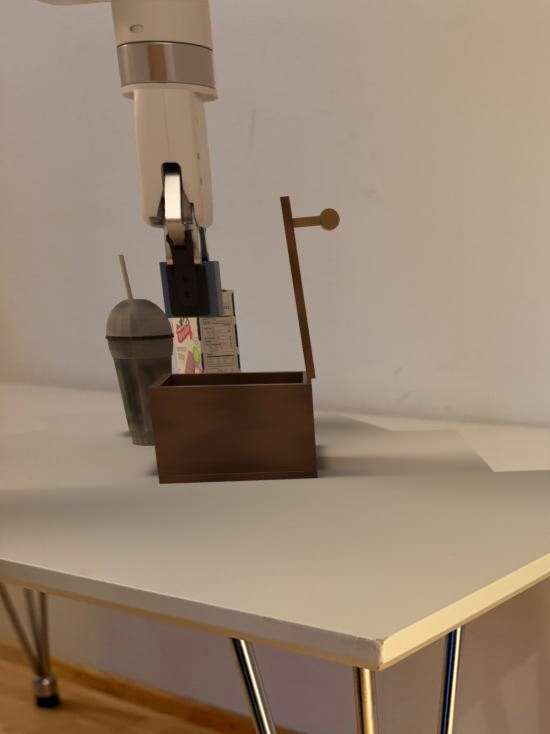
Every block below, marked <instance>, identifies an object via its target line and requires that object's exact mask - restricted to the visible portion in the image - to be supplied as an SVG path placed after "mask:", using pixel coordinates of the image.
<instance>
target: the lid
mask: <svg viewBox="0 0 550 734" xmlns="http://www.w3.org/2000/svg"><path fill="white" fill-rule="evenodd" d="M279 201H280V208H281V214H282V221H283V227H284V234H285V241H286V245H287V246H286V248H287V253H288V254H287V255H288V262H289V269H290V274H291V281H292V287H293V295H294V301H295V308H296V314H297V321H298V325H299V326H298V328H299V335H300V342H301V347H302V348H301V349H302V354H303V362H304V367H305V371H306V375H307V379H311V380H312V379H313V380H314V379H317V375H316V369H315V362H314V355H313V347H312V341H311V334H310V327H309V321H308V315H307V307H306V300H305V294H304V293H305V292H304V286H303V281H302V280H303V279H302V273H301V267H300V259H299V253H298V245H297V239H296V232H295V229H297V228H308V227H320V228H321V229H322V230H324V231H326V232H332V231H334V230H335V229H336V228H337V227H338V226H339V224H340V223H341V222H340V220H341V219H340V214H339V213H338V211H337V210H335V209H334V208H332V207H326V208H324V209H323V210H322V211H321V212H320V214H319V215H312V216H299V217H293V211H292V206H291V199H290V196H289V195H283V196H279Z"/></svg>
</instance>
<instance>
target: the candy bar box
mask: <svg viewBox="0 0 550 734" xmlns="http://www.w3.org/2000/svg"><path fill="white" fill-rule="evenodd" d="M234 295H235V294H234V289H231V288H223V287H222V297H223V307H224V314H223V315H222V316H220V317H202V318H171V327H172V332H173V334H174V338H173V343H174V349H175V357H176V365H177V373H224V372H242V368H241V367H242V366H241V358H240V357H241V355H240V346H239V336H238V333H239V332H238V325H237V317H236V306H235V296H234Z"/></svg>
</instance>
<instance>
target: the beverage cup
mask: <svg viewBox="0 0 550 734" xmlns="http://www.w3.org/2000/svg"><path fill="white" fill-rule="evenodd" d="M118 260H119V264H120V269H121V273H122V278H123V283H124V288H125V292H126V296H127V298H126V299H123V300H121V301H120V302H118V303H117V304H116V305H115V306H113V308H112V309H111V311H110V312H109V315H108V317H107V320H106V326H105V333H106V334H105V339H106V341H107V346H108V350H109V352H110V356H111V358H113V364H114V368H115V369H114V370H115V373H116V377H117V382H118V386H119V387H118V388H119V391H120V395H121V396H120V397H121V400H122V404H123V410H124V414H125V419H126V423H127V427H128V428H127V429H128V430H129V434H130V437H131V442H132V444H133V445H138V446H155V445H154V437H153V429H152V420H151V412H150V404H149V396H148V387H149V386H151V385H152V384H153V383H154V382H155V381H156V380H158V379H159V378H160V377H161V376H162V375H163V374H173V359H172V358H173V357H172V356H173V354H174V334H173V326H172V323H171V322H170V318H166V315H165V311H164V310H163V309H162V308H161V307H160V306H159V305H158V304H156V303H154V302H153V301H151V300H149V299H146V298H134V296H133V292H132V289H131V288H132V287H131V283H130V279H129V278H130V277H129V275H128V270H127V265H126V260H125V255H124V254H118Z"/></svg>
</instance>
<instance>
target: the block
mask: <svg viewBox="0 0 550 734" xmlns="http://www.w3.org/2000/svg"><path fill="white" fill-rule="evenodd" d="M158 265H159V272H160V281H161V290H162V297H163V306H164V313H165V315H166V318H168V319H172V318H202V317H220V316H222V315H223V314H224V307H223V297H222V288H223V287H222V279H221V269H220V261H219V260H210V261H202V266H206V274H207V283H208V293H209V302H210V314H209V315H207V316H173V315H172V313H171V307H170V298H169V290H168V282H167V273H166V266H168V265H167V261H159V262H158Z"/></svg>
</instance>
